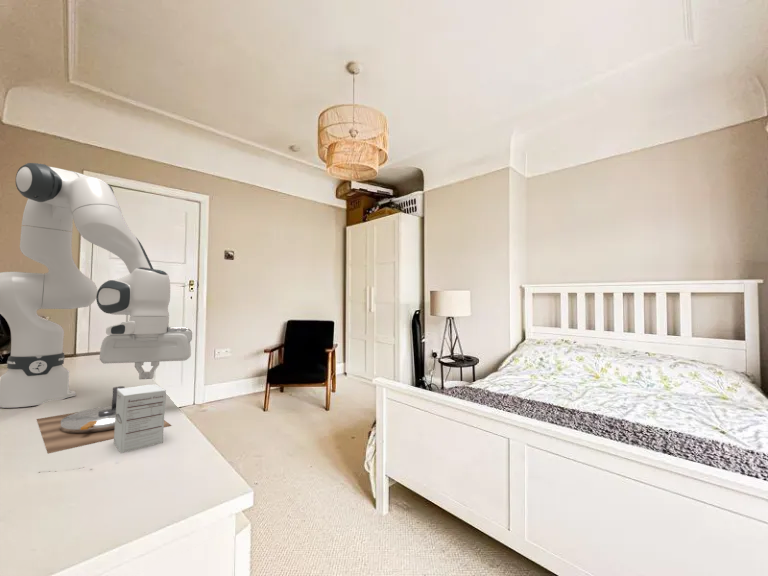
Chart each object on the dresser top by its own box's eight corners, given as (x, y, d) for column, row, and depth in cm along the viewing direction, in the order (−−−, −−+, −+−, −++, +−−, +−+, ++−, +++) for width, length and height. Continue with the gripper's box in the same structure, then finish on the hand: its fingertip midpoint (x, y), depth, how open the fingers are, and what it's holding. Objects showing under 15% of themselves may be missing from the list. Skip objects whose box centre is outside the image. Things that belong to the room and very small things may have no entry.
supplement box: (112, 449, 69) (116, 388, 70) (154, 440, 75) (157, 383, 76) (118, 461, 64) (123, 395, 65) (163, 450, 70) (167, 389, 71)
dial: (128, 432, 74) (130, 403, 74) (35, 440, 69) (38, 408, 69) (154, 408, 91) (156, 384, 92) (82, 413, 86) (84, 387, 87)
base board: (35, 425, 82) (36, 418, 82) (138, 407, 98) (139, 401, 98) (47, 461, 64) (47, 452, 64) (171, 431, 80) (171, 424, 80)
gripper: (194, 326, 97) (192, 374, 96) (109, 326, 90) (106, 378, 89) (190, 327, 91) (187, 378, 90) (98, 328, 84) (94, 383, 83)
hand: (146, 378), depth 89 cm, fingers closed
